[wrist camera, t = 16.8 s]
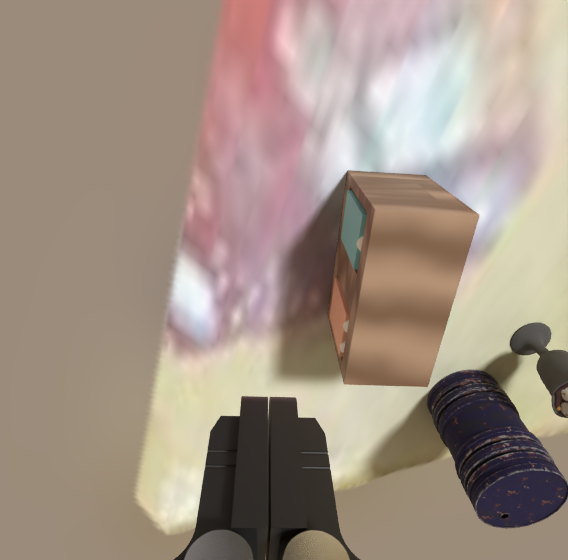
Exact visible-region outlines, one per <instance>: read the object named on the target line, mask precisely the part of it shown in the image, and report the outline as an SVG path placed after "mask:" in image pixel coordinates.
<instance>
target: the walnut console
mask: <svg viewBox="0 0 568 560" xmlns="http://www.w3.org/2000/svg"><path fill="white" fill-rule="evenodd" d="M347 190H353V192H354V193H355V195H356V197H357V198H358V200H359V201H360V203H361V204H362V206H363V208H364V209H365V211H366V212H367V218H366V223H365V229H364V235H363V241H362V247H361V253H360V259H359V265H358V270H357V269H353V267H352V264H351V262H350V259H349V257H348V254H347V252H346V249H345V247H344V244H343V242H342V239H341V232H342V225H343V218H344V211H345V204H346V197H347ZM478 219H479V214H477V213H476V212H475V211H473V210H472V209H471V208H469V207H468V206H467V205H465V204H464V203H463V202H461V201H460V200H459V199H457V198H456V197H455V196H453V195H452V194H451V193H449V192H448V191H446V190H445V189H444V188H442V187H441V186H440V185H438V184H437V183H436V182H434V181H433V180H432V179H430V178H429V177H428V176H426V175H412V174H395V173H379V172H362V171H348V172H347V179H346V187H345V194H344V201H343V208H342V215H341V222H340V230H339V237H338V244H337V251H336V258H335V266H334V273H333V280H332V287H331V294H330V302H329V309H328V318H329V322H330V326H331V331H332V335H333V339H334V343H335V348H336V352H337V356H338V361H339V365H340V369H341V374H342V378H343V382H344V384H349V385H384V386H418V387H428V384H429V381H430V377H431V374H432V371H433V367H434V364H435V361H436V358H437V354H438V351H439V348H440V344H441V341H442V338H443V334H444V331H445V328H446V325H447V321H448V318H449V315H450V311H451V308H452V305H453V301H454V298H455V295H456V291H457V288H458V285H459V282H460V278H461V275H462V272H463V268H464V265H465V262H466V258H467V255H468V252H469V248H470V245H471V242H472V239H473V235H474V232H475V229H476V225H477V222H478ZM335 278H339V281H340V284H341V287H342V290H343V293H344V296H345V299H346V303H347V306H348V309H349V312H350V318H349V324H348V330H347V336H346V342H345V348H344V354H343V357H339V354H338V350H337V346H336V341H335V337H334V333H333V329H332V325H331V320H330V309H331V302H332V295H333V288H334V281H335Z"/></svg>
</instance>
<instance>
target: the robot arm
mask: <svg viewBox="0 0 568 560" xmlns="http://www.w3.org/2000/svg"><path fill="white" fill-rule="evenodd" d="M265 555H266V560H360V559H359V558H357V557H356V556H355V555H354V554H353V553H352V552H351V551H350V549H349V548H348V547H347V545H346V544H345V542H344V540H343V538H342V536H341V533H340V529H339V523H338V517H337V510H336V503H335V497H334V490H333V483H332V477H331V470H330V463H329V457H328V450H327V444H326V437H325V433H324V431H323V430H322V428H321V427H320V425H319V423H318V422H317V420H316V419H315V418H298V411H297V400H296V398H290V397H270V400H269V414H268V397H248V396H242V398H241V409H240V416H221V417H220V418H219V420H218V421H217V423H216V424H215V426H214V427H213V429H212V430H211V432H210V439H209V445H208V453H207V458H206V466H205V471H204V478H203V484H202V491H201V497H200V504H199V510H198V516H197V523H196V528H195V532H194V535H193V538H192V539H191V541H190V543H189V545H188V546H187V547H186V549H185V550H184V551H183V552H182V553H181V554H180V555H179V556H178V557H177V558H175V559H174V560H265Z"/></svg>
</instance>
